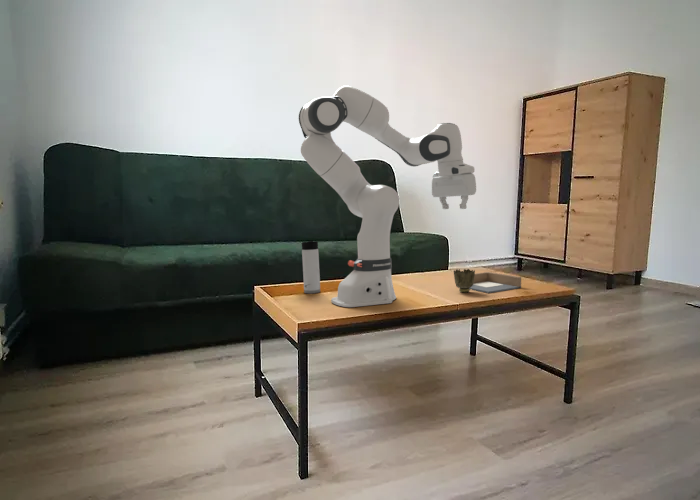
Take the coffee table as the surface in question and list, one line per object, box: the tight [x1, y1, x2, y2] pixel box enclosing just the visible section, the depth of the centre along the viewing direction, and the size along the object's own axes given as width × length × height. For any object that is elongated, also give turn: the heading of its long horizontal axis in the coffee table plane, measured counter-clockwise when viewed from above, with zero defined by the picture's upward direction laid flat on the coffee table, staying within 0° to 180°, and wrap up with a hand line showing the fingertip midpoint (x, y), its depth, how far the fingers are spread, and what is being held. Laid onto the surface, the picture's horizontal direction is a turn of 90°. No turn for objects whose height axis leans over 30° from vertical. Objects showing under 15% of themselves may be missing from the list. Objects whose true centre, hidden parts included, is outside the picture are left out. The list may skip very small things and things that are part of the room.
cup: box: [453, 268, 476, 294], centre depth 163 cm, size 8×7×8 cm
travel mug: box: [301, 240, 321, 295], centre depth 175 cm, size 6×7×20 cm
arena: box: [469, 271, 522, 294], centre depth 171 cm, size 16×17×4 cm
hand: (454, 209), depth 164 cm, fingers open, 8 cm apart
